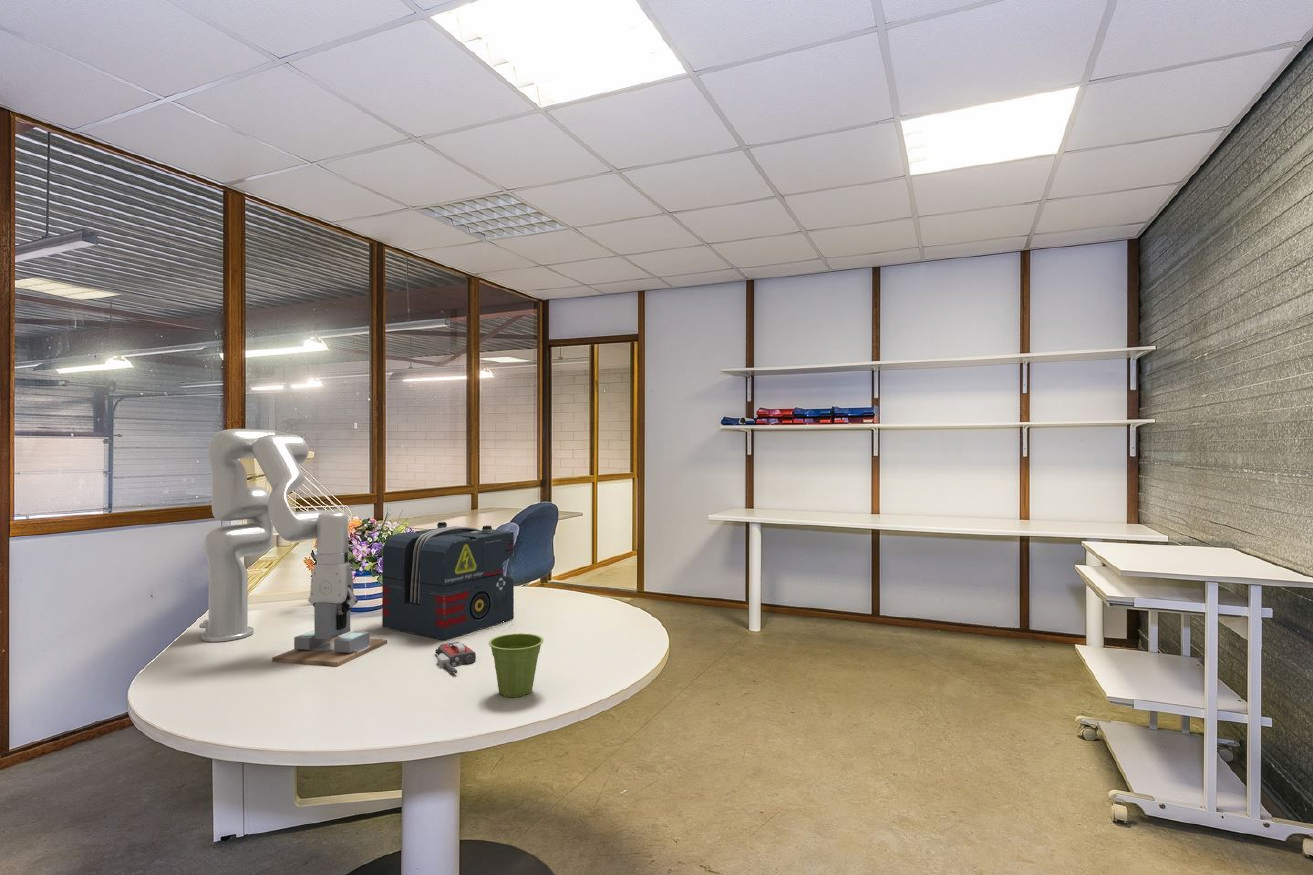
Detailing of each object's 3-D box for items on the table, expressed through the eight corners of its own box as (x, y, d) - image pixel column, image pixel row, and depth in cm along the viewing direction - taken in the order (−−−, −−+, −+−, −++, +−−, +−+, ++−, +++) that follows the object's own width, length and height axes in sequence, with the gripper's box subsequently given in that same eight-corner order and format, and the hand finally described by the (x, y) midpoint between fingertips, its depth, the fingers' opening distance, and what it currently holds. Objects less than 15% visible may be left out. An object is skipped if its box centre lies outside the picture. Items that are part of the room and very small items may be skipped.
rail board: (272, 661, 168) (272, 642, 168) (327, 639, 187) (327, 622, 187) (337, 666, 163) (337, 647, 164) (387, 643, 183) (387, 626, 183)
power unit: (443, 641, 185) (444, 533, 185) (381, 627, 199) (381, 527, 200) (514, 619, 209) (514, 523, 209) (454, 608, 223) (454, 519, 224)
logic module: (314, 638, 172) (314, 603, 172) (335, 630, 180) (335, 596, 180) (329, 639, 171) (329, 603, 171) (350, 631, 179) (350, 597, 179)
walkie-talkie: (427, 657, 172) (451, 678, 156) (427, 640, 172) (451, 660, 156) (460, 651, 177) (487, 671, 160) (460, 634, 177) (487, 653, 161)
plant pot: (493, 705, 138) (493, 651, 138) (484, 687, 149) (484, 636, 149) (549, 697, 143) (549, 644, 143) (536, 679, 154) (536, 630, 154)
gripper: (294, 560, 174) (294, 630, 173) (351, 562, 170) (351, 633, 170) (315, 556, 181) (315, 623, 181) (369, 557, 178) (370, 626, 177)
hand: (332, 627), depth 175 cm, fingers closed on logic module, 4 cm apart
